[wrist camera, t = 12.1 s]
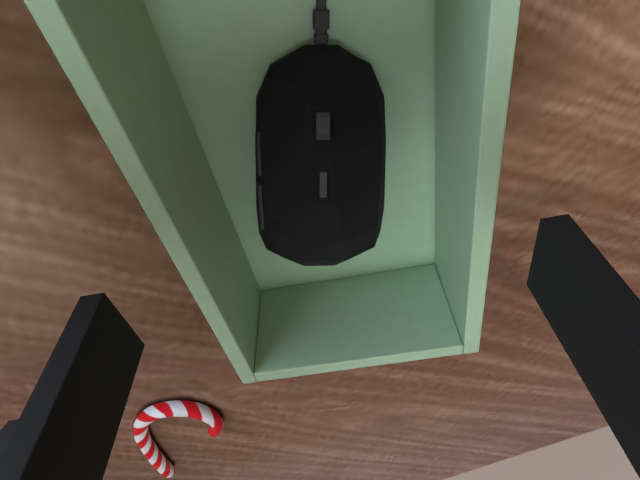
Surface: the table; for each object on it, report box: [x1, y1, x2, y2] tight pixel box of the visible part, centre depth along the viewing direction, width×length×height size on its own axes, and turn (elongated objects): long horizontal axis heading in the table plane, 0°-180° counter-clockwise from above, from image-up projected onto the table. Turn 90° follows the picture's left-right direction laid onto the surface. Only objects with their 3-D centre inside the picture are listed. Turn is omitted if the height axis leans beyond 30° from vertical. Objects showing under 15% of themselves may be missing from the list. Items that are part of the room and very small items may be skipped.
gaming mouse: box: [255, 0, 386, 266], centre depth 18 cm, size 6×15×4 cm, turn 179°
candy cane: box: [133, 400, 223, 478], centre depth 40 cm, size 8×1×15 cm
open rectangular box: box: [24, 0, 521, 384], centre depth 18 cm, size 13×21×7 cm, turn 10°
